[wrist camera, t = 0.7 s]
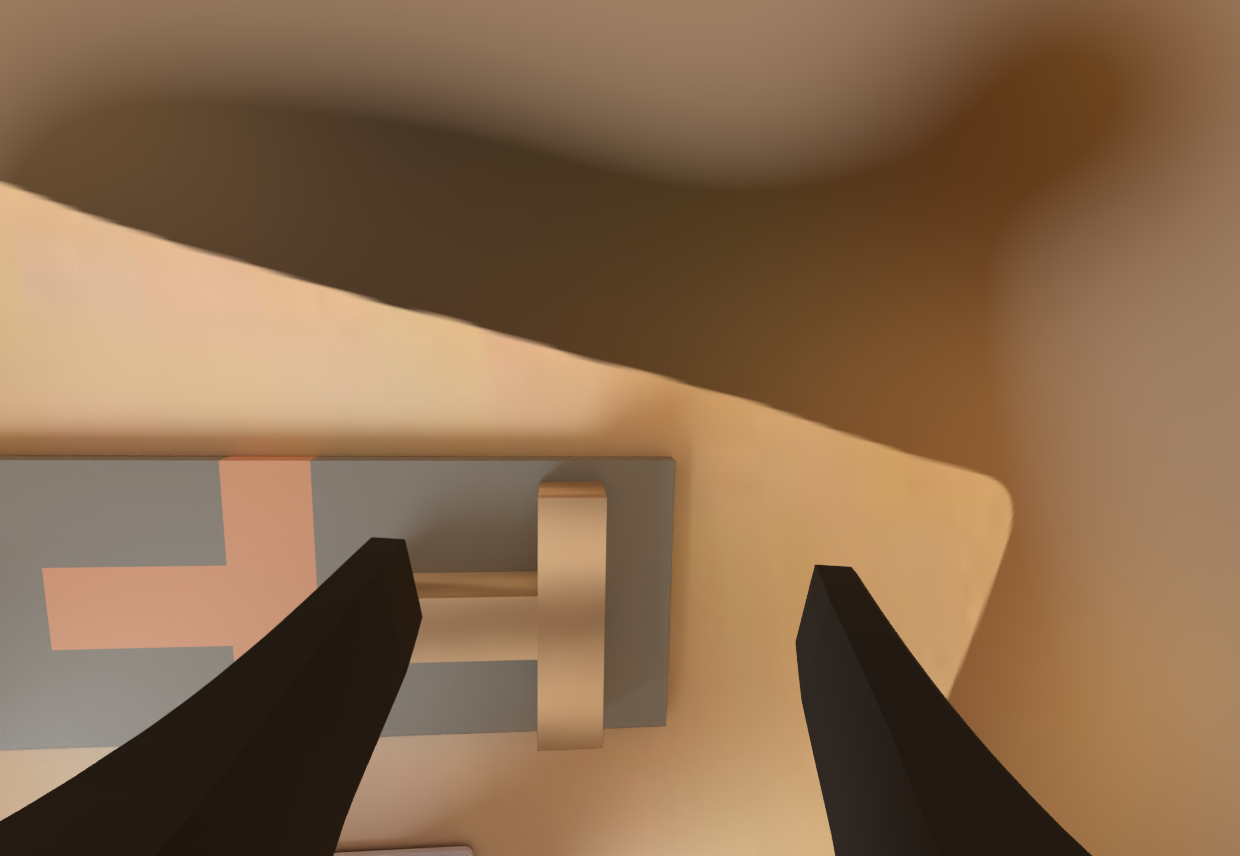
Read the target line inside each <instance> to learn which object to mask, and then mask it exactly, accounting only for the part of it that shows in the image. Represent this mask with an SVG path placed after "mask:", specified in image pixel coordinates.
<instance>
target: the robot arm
mask: <svg viewBox="0 0 1240 856" xmlns="http://www.w3.org/2000/svg"><path fill="white" fill-rule="evenodd" d="M422 617H423V616H422V612H421V607H420V603H419V598H418V594H417V590H416V585H415V581H414V576H413V572H412V567H411V563H410V559H409V554H408V550H407V545H406V541H405V539H394V538H378V537H371V538H370V539H369V540H368V541H367V542H366V543H365V544H364V545H362V546H361V547H360V548H359V549H358V550H357V551H356V552H355V553H354V554H353V555H352V556H351V557H350V558H349V559H347V560H346V561H345V562H344V563H343V564H342V565H341V566H340V567H339V568H338V569H337V570H336V571H335V572H334V573H333V574H332V575H331V576H330V577H329V578H328V579H326V580H325V581H324V582H323V583H322V584H321V585H320V586H319V587H318V588H317V589H316V590H315V591H314V592H313V593H312V594H311V595H310V596H308V597H307V598H306V599H305V600H304V601H303V602H302V603H301V604H300V605H299V606H298V607H296V608H295V609H294V610H293V611H292V612H291V613H290V614H289V615H288V616H287V617H285V618H284V619H283V620H282V621H281V622H280V623H279V624H278V625H277V626H276V627H274V628H273V629H272V630H271V631H270V632H269V633H268V634H267V635H265V636H264V637H263V638H262V639H261V640H260V641H258V642H257V643H256V644H255V645H254V646H252V647H251V648H250V649H249V650H248V651H247V652H245V653H244V654H243V655H242V656H241V657H239V658H238V659H237V660H236V661H235V662H233V663H232V664H231V665H230V666H229V667H228V668H226V669H225V670H224V671H223V672H222V673H220V674H219V675H218V676H217V677H215V678H214V679H213V680H212V681H210V682H209V683H208V684H206V685H205V686H204V687H203V688H201V689H200V690H199V691H198V692H196V693H195V694H194V695H192V696H191V697H190V698H188V699H187V700H186V701H184V702H183V703H182V704H180V705H179V706H178V707H176V708H175V709H173V710H172V711H171V712H169V713H168V714H167V715H165V716H164V717H163V718H161V719H160V720H158V721H157V722H156V723H154V724H153V725H151V726H150V727H149V728H147V729H146V730H144V731H143V732H141V733H140V734H138V735H137V736H135V737H134V738H132V739H131V740H129V741H128V742H126V743H125V744H123V745H122V746H120V747H119V748H117V749H116V750H114V751H113V752H111V753H110V754H108V755H107V756H105V757H104V758H102V759H101V760H99V761H98V762H96V763H95V764H93V765H92V766H90V767H88V768H87V769H85V770H84V771H82V772H81V773H79V774H78V775H76V776H75V777H73V778H72V779H70V780H68V781H67V782H65V783H64V784H62V785H60V786H59V787H57V788H55V789H54V790H52V791H50V792H49V793H47V794H46V795H44V796H42V797H41V798H39V799H37V800H36V801H34V802H32V803H31V804H29V805H27V806H26V807H24V808H22V809H21V810H19V811H17V812H15V813H14V814H12V815H10V816H8V817H7V818H5V819H3V820H2V821H0V856H473V851H472V849H471V848H469V847H467V846H455V847H436V848H417V849H397V850H378V851H359V852H340V853H334V852H335V849H336V846H337V843H338V840H339V837H340V834H341V831H342V828H343V825H344V822H345V819H346V816H347V814H348V811H349V809H350V806H351V803H352V801H353V798H354V796H355V793H356V791H357V788H358V786H359V784H360V781H361V779H362V777H363V774H364V772H365V770H366V767H367V765H368V763H369V760H370V758H371V756H372V753H373V751H374V749H375V746H376V744H377V742H378V739H379V737H380V735H381V732H382V730H383V728H384V725H385V723H386V721H387V718H388V716H389V713H390V711H391V709H392V706H393V704H394V702H395V699H396V697H397V694H398V692H399V690H400V687H401V685H402V682H403V680H404V677H405V675H406V673H407V670H408V666H409V663H410V660H411V657H412V653H413V650H414V647H415V643H416V639H417V636H418V632H419V628H420V625H421V621H422ZM796 652H797V662H798V673H799V682H800V690H801V699H802V704H803V709H804V714H805V718H806V723H807V727H808V732H809V736H810V741H811V746H812V750H813V755H814V759H815V763H816V768H817V772H818V777H819V781H820V786H821V790H822V795H823V799H824V803H825V808H826V812H827V817H828V821H829V826H830V830H831V835H832V840H833V846H834V851H835V856H1092V855H1091V854H1090V853H1089V852H1087V851H1086V850H1085V849H1084V848H1083V847H1082V846H1081V845H1080V844H1079V843H1078V842H1077V841H1075V839H1074V838H1073V837H1072V836H1070V835H1069V834H1068V833H1067V832H1066V831H1065V830H1064V829H1063V828H1062V827H1061V826H1060V825H1059V824H1058V823H1057V822H1056V821H1055V820H1054V819H1053V818H1052V817H1051V816H1050V815H1049V814H1048V813H1047V812H1046V811H1045V810H1044V809H1043V808H1042V807H1041V806H1040V805H1039V803H1037V802H1036V800H1035V799H1034V798H1033V797H1032V796H1031V795H1030V794H1029V793H1028V792H1027V791H1026V790H1025V789H1024V788H1023V787H1022V786H1021V785H1020V784H1019V783H1018V781H1017V780H1016V779H1015V778H1014V777H1013V776H1012V775H1011V774H1010V773H1009V772H1008V771H1007V770H1006V768H1005V767H1004V766H1003V765H1002V764H1001V763H1000V762H999V761H998V760H997V758H996V757H995V756H994V755H993V754H992V753H991V752H990V751H989V750H988V749H987V747H986V746H985V745H984V744H983V743H982V741H981V740H980V739H979V738H978V737H977V736H976V734H975V733H974V732H973V731H972V730H971V729H970V727H969V726H968V725H967V724H966V722H965V721H964V720H963V719H962V718H961V716H960V715H959V714H958V713H957V712H956V710H955V709H954V708H953V707H952V706H951V704H950V703H949V702H948V700H947V699H946V698H945V697H944V695H943V694H942V693H941V692H940V690H939V689H938V688H937V686H936V685H935V684H934V683H933V681H932V680H931V679H930V677H929V676H928V675H927V673H926V672H925V671H924V669H923V668H922V667H921V665H920V664H919V663H918V661H917V660H916V659H915V657H914V656H913V655H912V653H911V652H910V651H909V649H908V648H907V646H906V645H905V644H904V642H903V641H902V639H901V638H900V637H899V635H898V634H897V632H896V631H895V630H894V628H893V627H892V625H891V624H890V622H889V621H888V619H887V618H886V617H885V615H884V614H883V612H882V611H881V609H880V608H879V606H878V605H877V603H876V602H875V600H874V599H873V597H872V596H871V594H870V593H869V591H868V590H867V588H866V587H865V585H864V584H863V582H862V581H861V579H860V578H859V576H858V575H857V573H856V572H855V571H854V570H853V568H852V567H843V566H827V565H815V567H814V571H813V575H812V579H811V583H810V587H809V591H808V595H807V599H806V603H805V607H804V611H803V615H802V619H801V623H800V627H799V631H798V635H797V639H796Z"/></svg>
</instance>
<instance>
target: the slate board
mask: <svg viewBox="0 0 1240 856" xmlns="http://www.w3.org/2000/svg"><path fill="white" fill-rule="evenodd" d="M674 474H675V461H674V459H673V458H672V457H396V456H0V751H5V750H32V749H60V748H87V747H114V746H122V745H123V744H125V743H126V742H128V741H129V740H131V739H132V738H134V737H135V736H137V735H138V734H140V733H141V732H143V731H144V730H146V729H147V728H149V727H150V726H151V725H153V724H154V723H156V722H157V721H158V720H160V719H161V718H163V717H164V716H165V715H167V714H168V713H169V712H171V711H172V710H173V709H175V708H176V707H178V706H179V705H180V704H182V703H183V702H184V701H186V700H187V699H188V698H190V697H191V696H192V695H194V694H195V693H196V692H198V691H199V690H200V689H201V688H203V687H204V686H205V685H206V684H208V683H209V682H210V681H212V680H213V679H214V678H215V677H217V676H218V675H219V674H220V673H222V672H223V671H224V670H225V669H226V668H228V667H229V666H230V665H231V664H232V663H233V662H235V661H236V660H237V659H238V658H239V657H241V656H242V655H243V654H244V653H245V652H247V651H248V650H249V649H250V648H251V647H252V646H254V645H255V644H256V643H257V642H258V641H260V640H261V639H262V638H263V637H264V636H265V635H267V634H268V633H269V632H270V631H271V630H272V629H273V628H274V627H276V626H277V625H278V624H279V623H280V622H281V621H282V620H283V619H284V618H285V617H287V616H288V615H289V614H290V613H291V612H292V611H293V610H294V609H295V608H296V607H298V606H299V605H300V604H301V603H302V602H303V601H304V600H305V599H306V598H307V597H308V596H310V595H311V594H312V593H313V592H314V591H315V590H316V589H317V588H318V587H319V586H320V585H321V584H322V583H323V582H324V581H325V580H326V579H328V578H329V577H330V576H331V575H332V574H333V573H334V572H335V571H336V570H337V569H338V568H339V567H340V566H341V565H342V564H343V563H344V562H345V561H346V560H347V559H349V558H350V557H351V556H352V555H353V554H354V553H355V552H356V551H357V550H358V549H359V548H360V547H361V546H362V545H364V544H365V543H366V542H367V541H368V540H369V539H370V538H371V537H378V538H394V539H405V541H406V545H407V550H408V554H409V559H410V563H411V567H412V572H413V573H460V572H530V571H538V492H539V484H540V481H603V485H604V489H605V492H606V496H607V522H606V578H605V634H604V690H603V729H605V728H632V727H660V726H666V709H667V679H668V650H669V621H670V591H671V562H672V533H673V503H674ZM523 731H538V660H503V661H466V662H428V663H409V666H408V670H407V673H406V675H405V677H404V680H403V682H402V685H401V687H400V690H399V692H398V694H397V697H396V699H395V702H394V704H393V706H392V709H391V711H390V713H389V716H388V718H387V721H386V723H385V725H384V728H383V730H382V732H381V735H380V737H387V736H414V735H441V734H469V733H496V732H523Z"/></svg>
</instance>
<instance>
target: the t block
mask: <svg viewBox="0 0 1240 856" xmlns="http://www.w3.org/2000/svg"><path fill="white" fill-rule="evenodd" d="M606 522H607V496H606V492H605V489H604V485H603V481H540V484H539V492H538V571H530V572H460V573H413V576H414V581H415V585H416V590H417V594H418V598H419V603H420V607H421V612H422V616H423V617H422V621H421V625H420V628H419V632H418V636H417V639H416V643H415V647H414V650H413V653H412V657H411V660H410V663H428V662H466V661H503V660H538V751H542V750H567V749H593V748H602V746H603V690H604V634H605V578H606Z"/></svg>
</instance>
